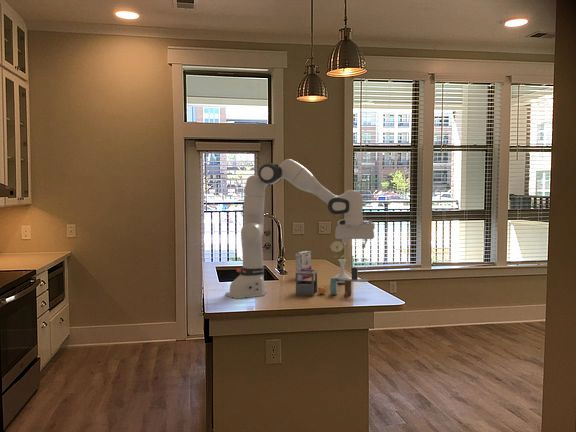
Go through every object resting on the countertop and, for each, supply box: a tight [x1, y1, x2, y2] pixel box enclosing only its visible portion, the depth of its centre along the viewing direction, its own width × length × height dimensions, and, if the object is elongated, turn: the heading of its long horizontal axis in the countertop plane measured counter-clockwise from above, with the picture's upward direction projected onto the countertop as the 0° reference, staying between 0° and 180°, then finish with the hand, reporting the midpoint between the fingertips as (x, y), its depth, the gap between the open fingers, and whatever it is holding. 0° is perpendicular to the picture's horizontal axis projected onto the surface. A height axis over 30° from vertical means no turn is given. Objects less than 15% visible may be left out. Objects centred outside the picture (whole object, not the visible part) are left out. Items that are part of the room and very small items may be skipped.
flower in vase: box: [329, 240, 352, 284], centre depth 298 cm, size 13×11×25 cm
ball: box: [317, 286, 327, 295], centre depth 267 cm, size 4×4×4 cm
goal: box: [295, 269, 318, 297], centre depth 269 cm, size 10×12×12 cm
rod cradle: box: [344, 280, 352, 297], centre depth 264 cm, size 3×5×8 cm, turn 168°
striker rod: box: [329, 266, 369, 295], centre depth 264 cm, size 20×6×14 cm, turn 78°
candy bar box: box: [294, 250, 313, 280], centre depth 317 cm, size 11×5×16 cm, turn 143°
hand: (354, 247), depth 262 cm, fingers open, 8 cm apart
